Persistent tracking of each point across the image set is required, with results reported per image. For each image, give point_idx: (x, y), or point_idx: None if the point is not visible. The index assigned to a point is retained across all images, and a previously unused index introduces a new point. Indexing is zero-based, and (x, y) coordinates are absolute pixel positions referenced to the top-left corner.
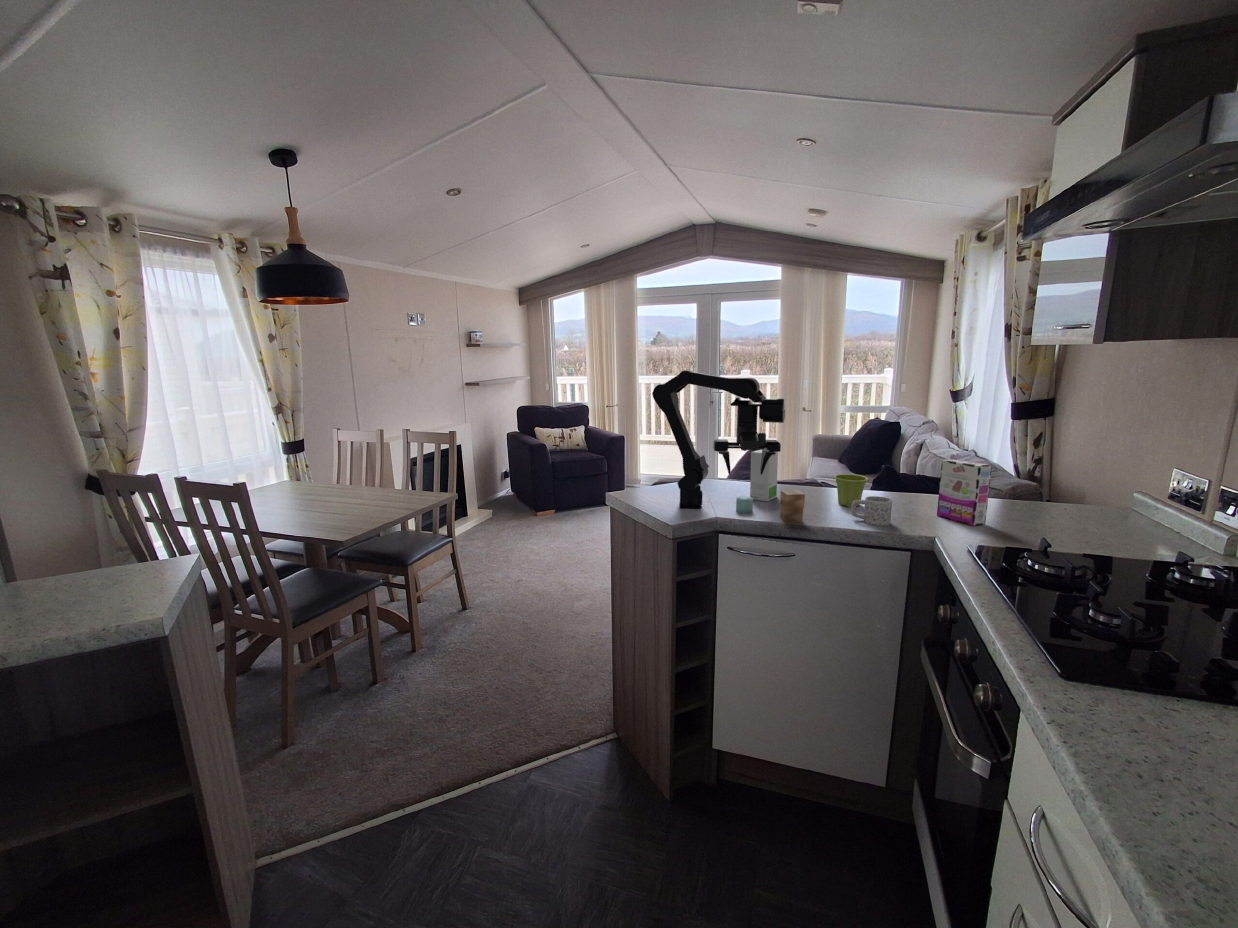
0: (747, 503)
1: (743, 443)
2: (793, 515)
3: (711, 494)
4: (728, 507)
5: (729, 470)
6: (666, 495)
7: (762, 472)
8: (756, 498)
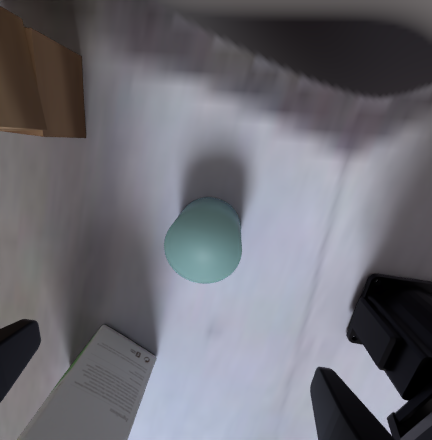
0: (199, 208)
1: None
2: None
3: (267, 418)
4: (255, 278)
5: (348, 402)
6: None
7: (2, 330)
8: (135, 348)
